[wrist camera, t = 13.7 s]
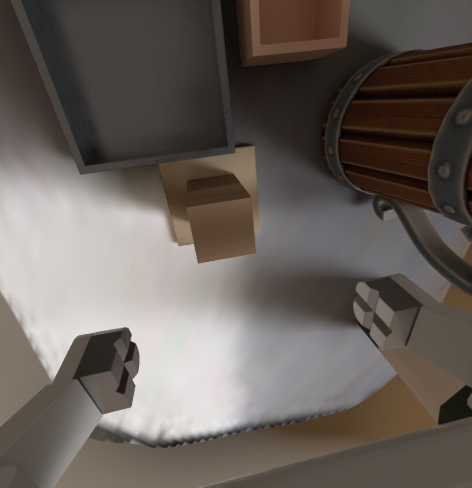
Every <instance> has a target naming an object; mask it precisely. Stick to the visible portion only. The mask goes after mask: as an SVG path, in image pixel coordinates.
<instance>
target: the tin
mask: <svg viewBox="0 0 472 488" xmlns="http://www.w3.org/2000/svg"><path fill="white" fill-rule="evenodd" d="M11 3H12V5H13V8H14V10H15V13H16V15H17V18H18V20H19V23H20V25H21V28H22V30H23V33H24V35H25V38H26V40H27V43H28V45H29V48H30V50H31V53H32V55H33V58H34V60H35V63H36V65H37V68H38V70H39V73H40V75H41V78H42V80H43V83H44V85H45V88H46V90H47V93H48V95H49V98H50V100H51V103H52V105H53V108H54V110H55V113H56V115H57V118H58V120H59V123H60V125H61V128H62V130H63V132H64V135H65V137H66V140H67V142H68V145H69V147H70V150H71V152H72V155H73V157H74V160H75V162H76V165H77V167H78V170H79V172H80V175H81V174H88V173H95V172H102V171H110V170H117V169H124V168H131V167H139V166H146V165H153V164H160V163H168V162H175V161H182V160H190V159H197V158H204V157H211V156H219V155H226V154H233V153H236V152H235V142H234V132H233V123H232V113H231V103H230V93H229V83H228V73H227V63H226V53H225V43H224V33H223V23H222V14H221V4H220V0H11Z"/></svg>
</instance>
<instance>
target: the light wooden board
mask: <svg viewBox="0 0 472 488" xmlns="http://www.w3.org/2000/svg"><path fill="white" fill-rule="evenodd" d="M235 152H236V153H233V154H226V155H219V156H211V157H204V158H197V159H190V160H182V161H175V162H168V163H160V164H158V165H159V169H160V173H161V177H162V181H163V185H164V189H165V193H166V197H167V201H168V205H169V209H170V214H171V218H172V222H173V226H174V230H175V234H176V238H177V242H178V246H183V245H189V244H194V241H193V237H192V232H191V227H190V222H189V218H188V213H187V208H186V203H187V180H193V179H200V178H207V177H214V176H221V175H228V174H234V175H235V176H236V177H237V179H238V180H239V181H240V183H241V184H242V185H243V187H244V188H245V189H246V191H247V192H248V193H249V195H250V196H251V197H252V210H253V223H254V233H259V232H260V222H259V207H258V192H257V177H256V161H255V146H253V145H251V146H243V147H236V148H235Z"/></svg>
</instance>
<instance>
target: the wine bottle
mask: <svg viewBox="0 0 472 488" xmlns="http://www.w3.org/2000/svg"><path fill="white" fill-rule="evenodd" d="M358 325H359V326H360V327H361V328H362V330H363V331H364V332H365V333H366V335H367V336H368V337H369V338H370V339H371V341H372V342H373V343H374V344H375V346H376V347H377V348H378V349H379V351H380V352H381V353H382V354H383V356H384V357H385V358H386V359H387V361H388V362H389V363H390V364H391V366H392V367H393V368H394V369H395V371H396V372H397V373H398V374H399V376H400V377H401V378H402V379H403V380H404V382H405V383H406V384H407V385H408V387H409V388H410V389H411V390H412V392H413V393H414V394H415V395H416V397H417V398H418V399H419V400H420V401H421V403H422V404H423V405H424V407H425V408H426V409H427V410H428V411H429V413H430V414H431V415H432V416H433V418H434V419H435V420H436V421H437V423H438V424H439V425H442V424H445V423H449V422H453V421H457V420H461V419H465V418H469V417H472V409H471V408H470V407H469V406H468V405H467V402H468V398H469V396H470V395H471V393H472V388H471V387H469V386H468V385H466V384H465V383H463V382H461V381H460V380H458V379H456V378H455V377H453V376H451V375H450V374H448V373H446V372H445V371H443V370H442V369H440V368H438V367H437V366H435V365H433V364H432V363H430V362H428V361H427V360H425V359H424V358H422V357H420V356H419V355H417V354H415V353H414V352H412V351H410V350H409V349H407V348H406V347H401V348H395V349H390V350H385V351H382V350H381V349H380V347H379V346H378V345H377V344H376V342H375V341H374V340H373V339H372V338H371V336H370V329H368V328H366V327H364V326H362V325H361V324H360V322H359V321H358Z"/></svg>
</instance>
